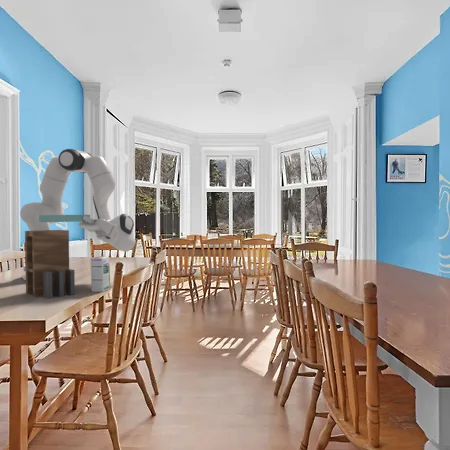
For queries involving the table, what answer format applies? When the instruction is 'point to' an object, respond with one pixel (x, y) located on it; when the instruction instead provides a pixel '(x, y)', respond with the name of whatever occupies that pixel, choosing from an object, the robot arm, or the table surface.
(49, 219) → the teal tile bar
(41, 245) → the walnut stand
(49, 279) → the domino
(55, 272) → the domino
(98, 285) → the syrup box
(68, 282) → the domino
